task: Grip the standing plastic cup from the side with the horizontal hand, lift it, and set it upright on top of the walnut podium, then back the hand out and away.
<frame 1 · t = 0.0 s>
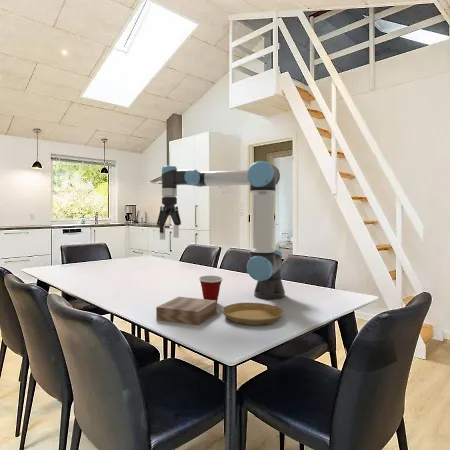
hand: (169, 238, 187), 28 cm above the table, tool pointing down, fingers open, 13 cm apart
plant saucer: (252, 318, 146), on the table
plastic cup: (210, 304, 167), on the table
walnut podium: (187, 315, 148), on the table
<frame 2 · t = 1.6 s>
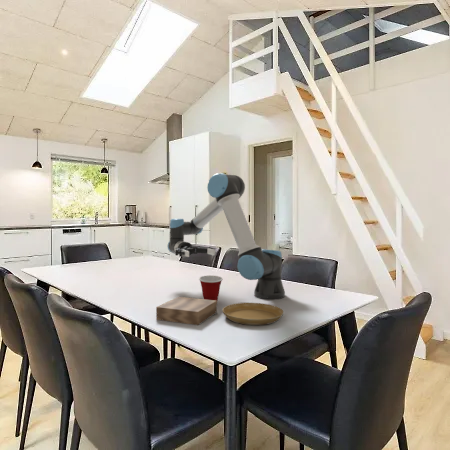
hand: (201, 253, 174), 22 cm above the table, tool horizontal, fingers open, 13 cm apart
nothing on the table moved.
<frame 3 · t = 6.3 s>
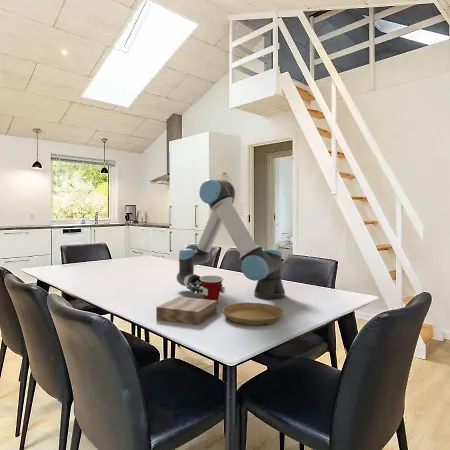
hand: (215, 291, 162), 7 cm above the table, tool horizontal, fingers closed on plastic cup, 8 cm apart
plastic cup: (211, 304, 167), on the table, touching gripper
everything else where it was.
when the fingers open (12 cm above the table, at t = 11.1 s): plastic cup stays where it is, resting on walnut podium.
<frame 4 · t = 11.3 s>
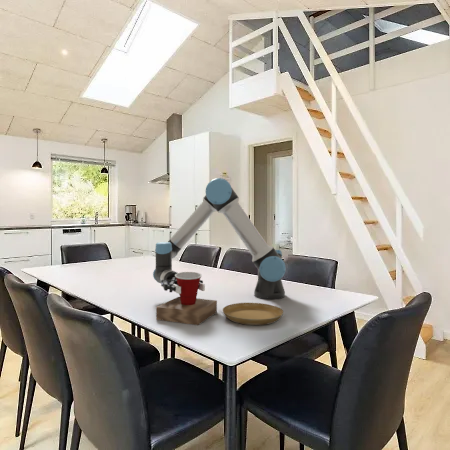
hand: (192, 289, 143), 12 cm above the table, tool horizontal, fingers open, 9 cm apart
plastic cup: (188, 304, 148), point 5 cm above the table, touching walnut podium
everything else where it was.
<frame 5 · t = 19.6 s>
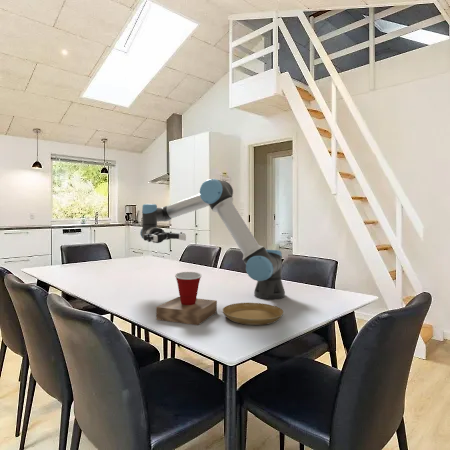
hand: (171, 238, 165), 30 cm above the table, tool horizontal, fingers open, 13 cm apart
nothing on the table moved.
at the end: plastic cup inside the target area on the walnut podium (0.4 cm from its centre), point 4.8 cm above the walnut podium's base; plastic cup tilted 0°; the gripper is holding nothing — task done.
